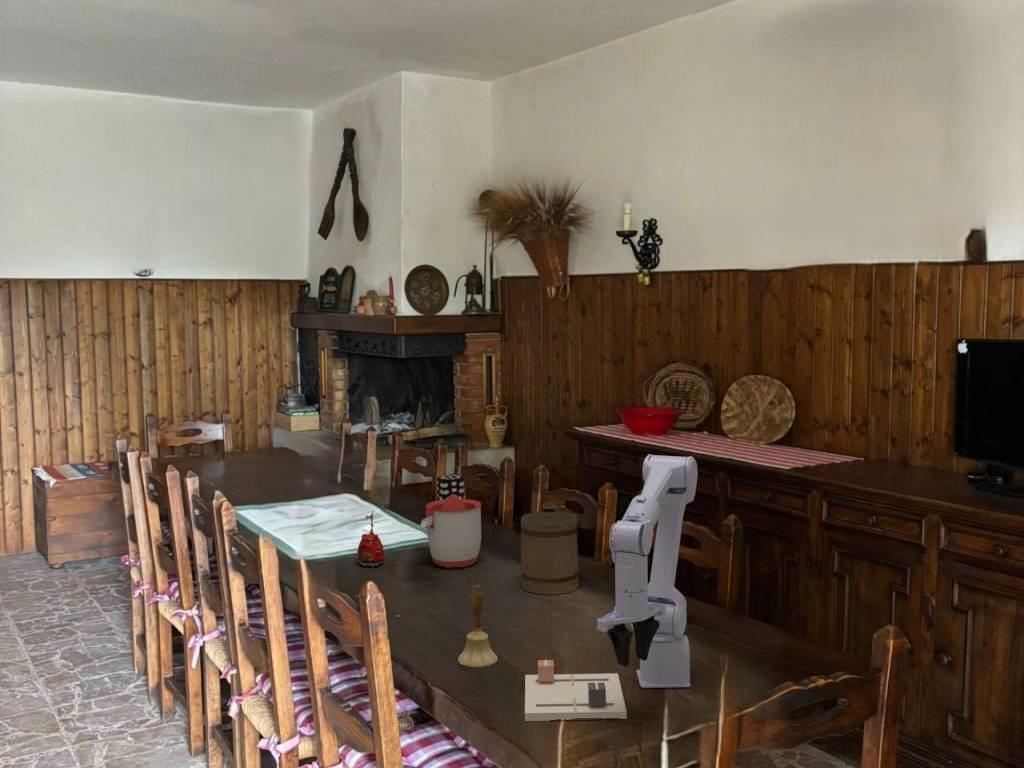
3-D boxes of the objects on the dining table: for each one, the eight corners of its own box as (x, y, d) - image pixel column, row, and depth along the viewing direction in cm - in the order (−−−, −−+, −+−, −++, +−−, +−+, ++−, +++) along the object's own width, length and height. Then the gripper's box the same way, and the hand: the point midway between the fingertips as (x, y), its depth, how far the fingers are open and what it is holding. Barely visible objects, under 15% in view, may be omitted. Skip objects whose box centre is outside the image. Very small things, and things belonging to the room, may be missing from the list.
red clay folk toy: (354, 567, 270) (351, 515, 268) (364, 560, 276) (362, 509, 275) (378, 569, 268) (376, 516, 266) (389, 562, 274) (387, 510, 273)
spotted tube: (436, 539, 298) (434, 475, 296) (462, 536, 301) (460, 473, 299) (442, 545, 290) (440, 480, 288) (469, 543, 293) (467, 478, 291)
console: (617, 680, 187) (617, 672, 187) (626, 719, 170) (626, 710, 170) (525, 682, 187) (525, 674, 187) (525, 721, 171) (524, 712, 170)
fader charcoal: (604, 698, 175) (604, 682, 174) (605, 705, 172) (605, 688, 171) (588, 698, 175) (587, 682, 174) (589, 705, 172) (588, 689, 171)
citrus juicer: (414, 561, 274) (411, 492, 272) (470, 553, 281) (468, 486, 279) (433, 575, 260) (430, 503, 258) (491, 566, 267) (489, 495, 265)
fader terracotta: (553, 675, 186) (553, 659, 185) (554, 681, 183) (553, 665, 182) (538, 675, 186) (537, 660, 185) (538, 681, 183) (537, 666, 182)
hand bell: (497, 651, 204) (495, 578, 202) (498, 667, 196) (496, 590, 194) (458, 653, 204) (455, 579, 202) (457, 668, 195) (454, 592, 194)
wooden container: (579, 577, 255) (578, 496, 253) (577, 595, 240) (576, 509, 238) (523, 577, 256) (521, 496, 254) (518, 595, 241) (516, 509, 239)
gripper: (646, 575, 178) (647, 646, 180) (585, 590, 170) (586, 664, 172) (673, 584, 172) (674, 657, 174) (611, 600, 164) (612, 676, 166)
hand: (632, 661), depth 172 cm, fingers open, 4 cm apart
